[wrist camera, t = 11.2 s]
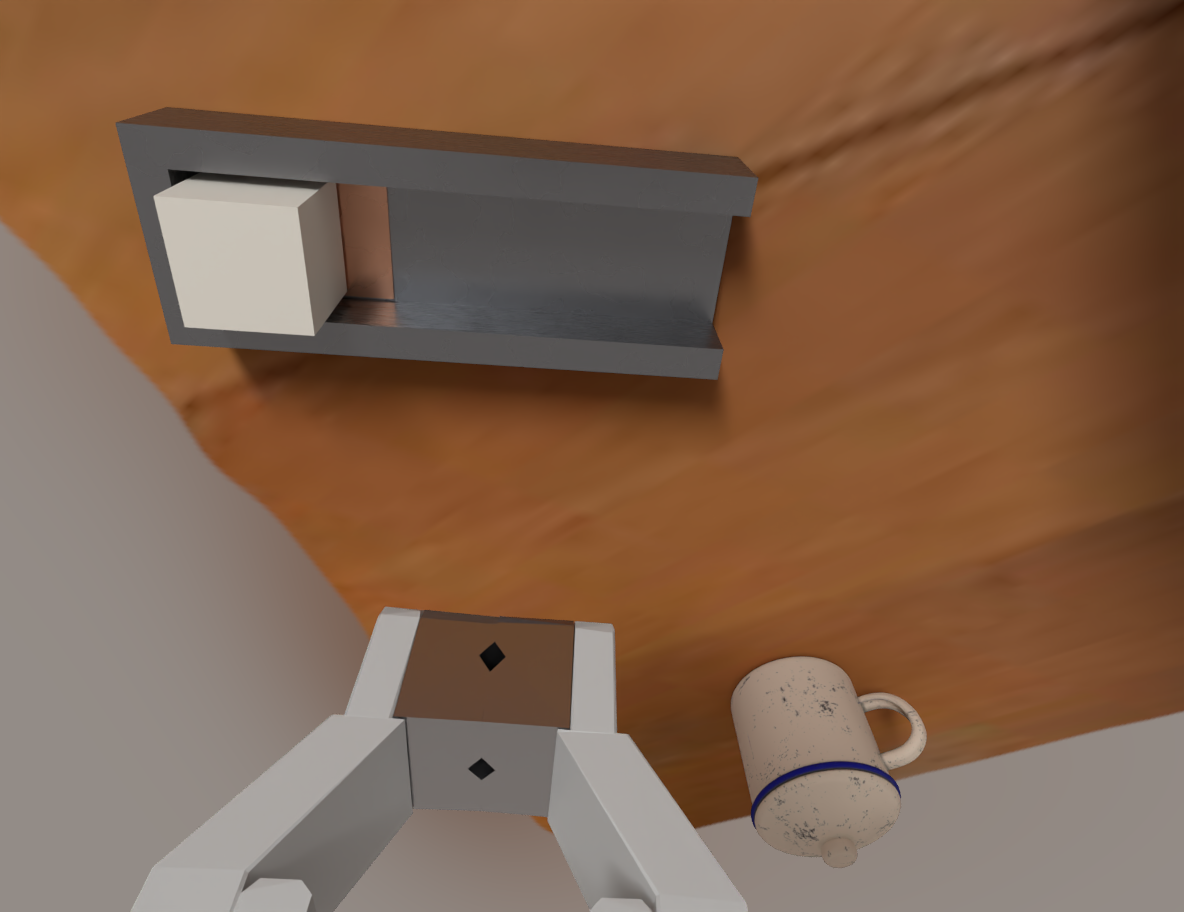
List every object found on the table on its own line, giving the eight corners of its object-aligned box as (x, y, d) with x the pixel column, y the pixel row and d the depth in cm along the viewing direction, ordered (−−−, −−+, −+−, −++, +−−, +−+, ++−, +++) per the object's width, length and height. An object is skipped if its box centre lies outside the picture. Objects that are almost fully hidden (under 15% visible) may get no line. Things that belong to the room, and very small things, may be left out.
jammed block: (335, 176, 30) (297, 207, 26) (347, 291, 33) (314, 335, 29) (211, 166, 30) (153, 196, 26) (234, 283, 32) (184, 327, 28)
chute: (737, 157, 31) (758, 177, 28) (703, 343, 36) (717, 379, 33) (166, 107, 30) (115, 122, 26) (210, 309, 34) (171, 343, 31)
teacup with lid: (757, 748, 55) (798, 914, 45) (704, 682, 50) (737, 849, 40) (910, 692, 51) (990, 857, 42) (868, 615, 47) (946, 780, 37)
